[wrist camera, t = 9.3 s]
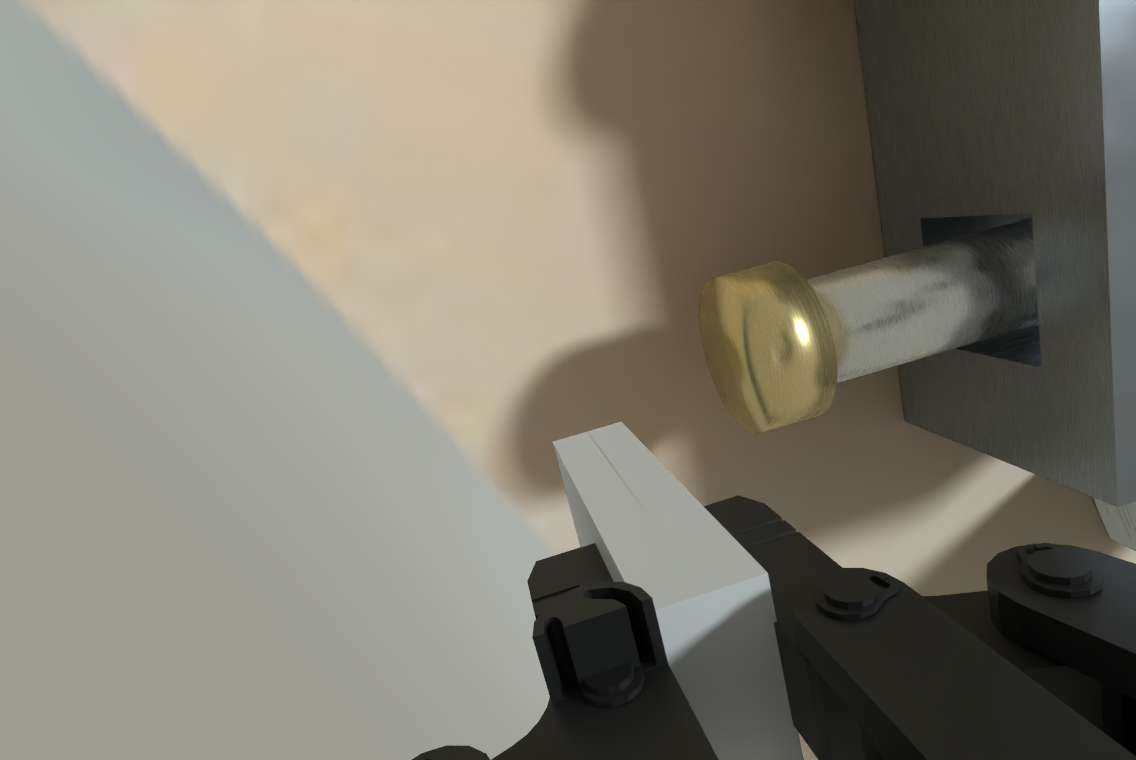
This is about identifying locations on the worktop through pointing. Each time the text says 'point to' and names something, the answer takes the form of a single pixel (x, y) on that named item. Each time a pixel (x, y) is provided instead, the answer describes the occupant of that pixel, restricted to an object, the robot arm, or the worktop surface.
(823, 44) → the worktop surface
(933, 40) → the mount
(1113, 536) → the skincare box
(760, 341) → the knob
